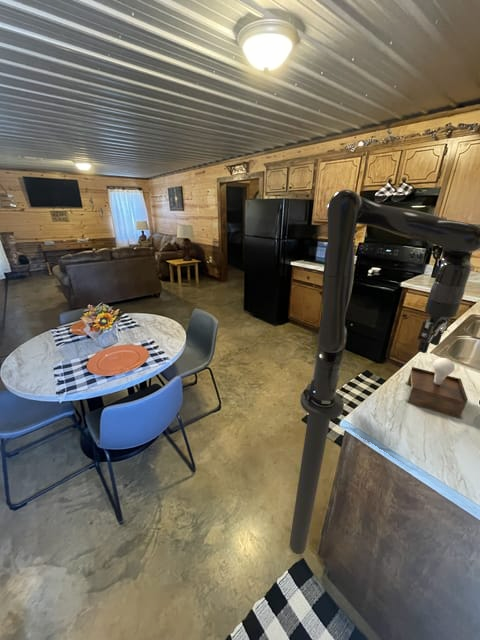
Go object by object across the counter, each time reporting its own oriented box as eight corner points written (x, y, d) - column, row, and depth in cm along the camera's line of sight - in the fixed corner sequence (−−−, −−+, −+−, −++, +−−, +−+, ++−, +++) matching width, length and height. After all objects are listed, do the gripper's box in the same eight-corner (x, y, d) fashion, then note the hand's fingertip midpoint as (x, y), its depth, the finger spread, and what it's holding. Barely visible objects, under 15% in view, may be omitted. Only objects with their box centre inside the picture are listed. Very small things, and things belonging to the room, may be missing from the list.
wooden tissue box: (407, 402, 100) (413, 384, 96) (407, 382, 111) (412, 366, 108) (459, 418, 92) (467, 399, 89) (453, 395, 103) (460, 378, 100)
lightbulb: (448, 391, 95) (459, 365, 91) (428, 386, 97) (437, 361, 93) (444, 381, 100) (454, 357, 96) (426, 377, 102) (434, 353, 98)
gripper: (439, 291, 81) (424, 337, 88) (419, 299, 74) (404, 349, 80) (469, 297, 76) (451, 346, 82) (450, 306, 68) (431, 360, 74)
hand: (428, 347), depth 81 cm, fingers open, 8 cm apart
